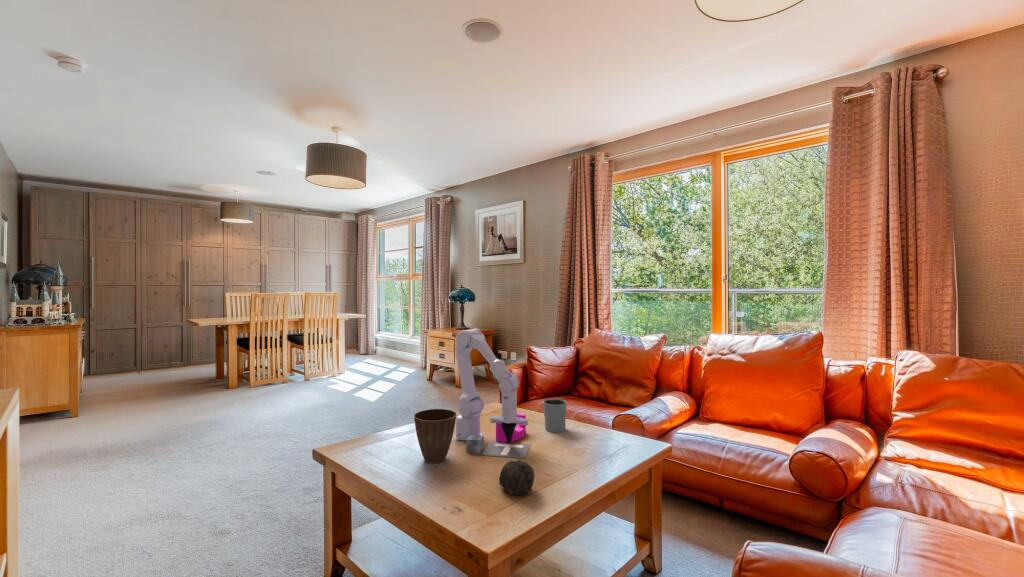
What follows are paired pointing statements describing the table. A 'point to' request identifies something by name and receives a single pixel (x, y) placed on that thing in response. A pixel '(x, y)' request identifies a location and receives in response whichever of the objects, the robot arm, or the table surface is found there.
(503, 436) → the toy block
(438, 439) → the plant pot
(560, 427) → the gray cup
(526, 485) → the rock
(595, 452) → the table surface
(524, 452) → the board
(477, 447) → the gray cube
